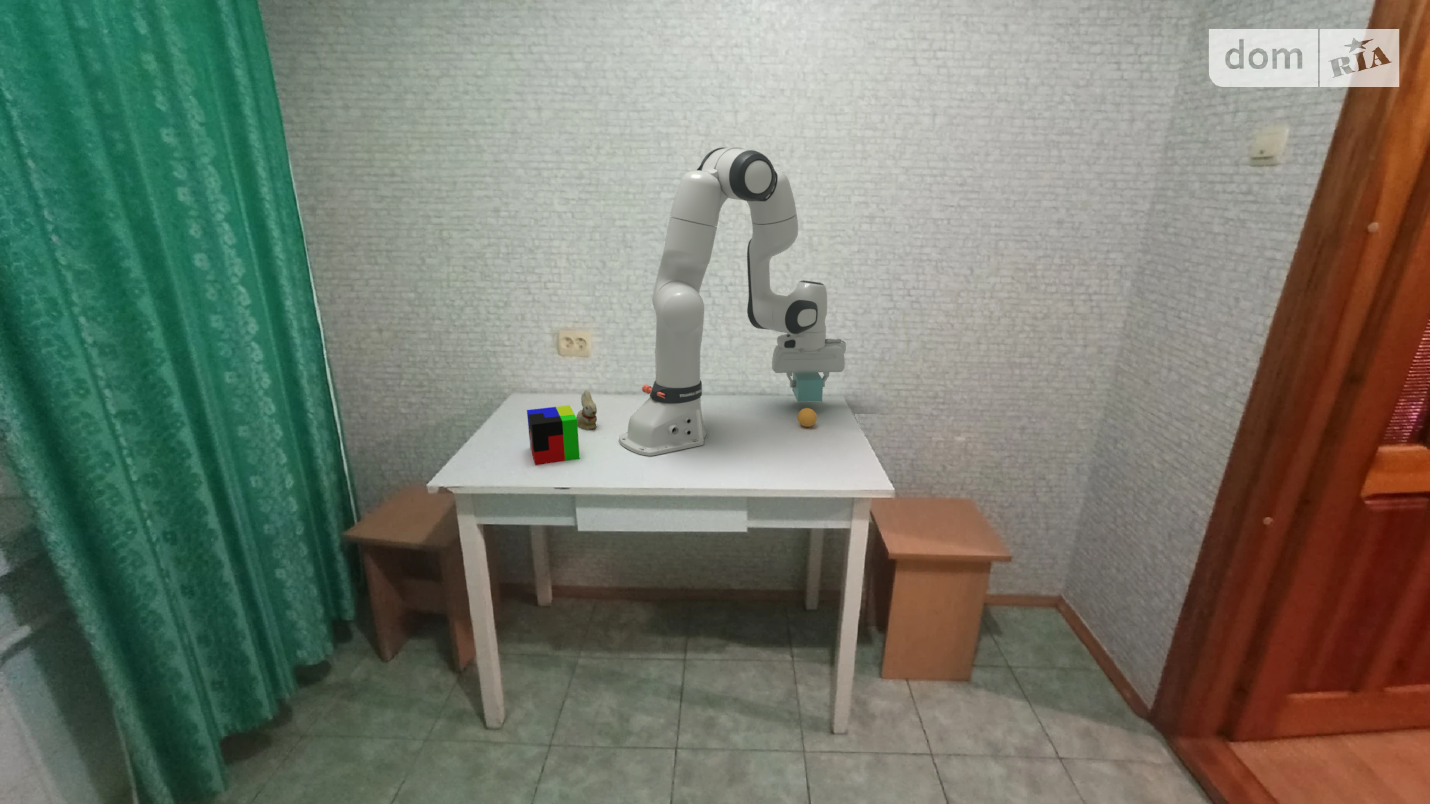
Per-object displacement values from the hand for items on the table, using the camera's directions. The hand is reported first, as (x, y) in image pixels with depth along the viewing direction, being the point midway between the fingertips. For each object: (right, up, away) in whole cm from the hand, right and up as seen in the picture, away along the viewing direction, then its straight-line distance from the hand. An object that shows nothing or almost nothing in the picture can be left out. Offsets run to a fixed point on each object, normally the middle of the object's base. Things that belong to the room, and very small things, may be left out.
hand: (807, 386), depth 179 cm
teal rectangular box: (0, -3, +1) cm, 3 cm away
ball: (-2, -8, -12) cm, 15 cm away
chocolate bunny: (-60, -11, -13) cm, 62 cm away
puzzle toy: (-64, -17, -30) cm, 73 cm away
